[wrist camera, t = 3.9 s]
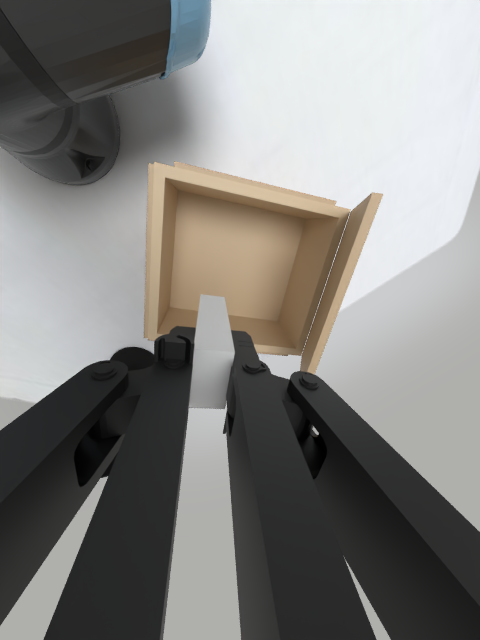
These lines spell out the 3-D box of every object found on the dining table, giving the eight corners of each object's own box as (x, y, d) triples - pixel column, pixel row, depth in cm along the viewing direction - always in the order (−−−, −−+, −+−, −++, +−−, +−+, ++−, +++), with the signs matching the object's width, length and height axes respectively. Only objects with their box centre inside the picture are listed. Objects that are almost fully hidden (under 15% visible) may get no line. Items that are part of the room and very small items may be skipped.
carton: (160, 312, 43) (143, 343, 32) (167, 175, 35) (148, 153, 24) (279, 327, 48) (299, 358, 37) (312, 209, 39) (352, 204, 28)
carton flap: (296, 400, 26) (303, 403, 26) (372, 192, 18) (383, 194, 18) (301, 354, 37) (306, 356, 36) (350, 211, 28) (357, 212, 28)
